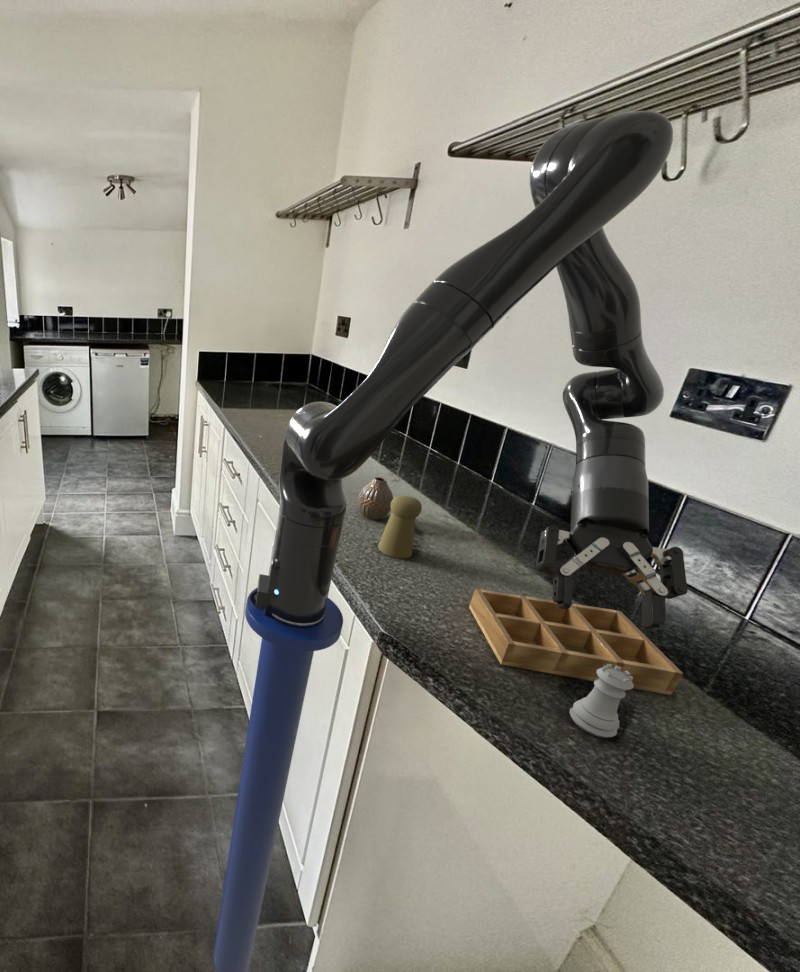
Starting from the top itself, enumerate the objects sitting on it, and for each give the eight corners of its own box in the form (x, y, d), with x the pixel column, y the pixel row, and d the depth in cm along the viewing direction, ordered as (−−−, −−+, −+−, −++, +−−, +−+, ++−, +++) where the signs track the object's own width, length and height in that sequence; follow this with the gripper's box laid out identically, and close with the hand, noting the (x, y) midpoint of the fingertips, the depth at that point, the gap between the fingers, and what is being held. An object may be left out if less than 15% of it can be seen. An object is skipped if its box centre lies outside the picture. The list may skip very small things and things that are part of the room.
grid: (500, 664, 69) (508, 643, 67) (468, 607, 81) (475, 588, 79) (671, 695, 65) (683, 673, 63) (610, 630, 77) (620, 610, 75)
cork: (409, 561, 93) (424, 508, 89) (375, 552, 96) (388, 499, 92) (413, 548, 98) (427, 496, 94) (380, 539, 101) (392, 489, 97)
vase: (388, 513, 113) (397, 476, 109) (388, 525, 107) (398, 487, 103) (356, 506, 115) (364, 471, 112) (354, 518, 109) (362, 481, 106)
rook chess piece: (562, 719, 60) (587, 667, 57) (575, 703, 63) (600, 652, 60) (608, 746, 57) (637, 692, 54) (621, 728, 59) (649, 676, 56)
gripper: (556, 476, 66) (550, 595, 61) (698, 497, 61) (704, 629, 56) (533, 498, 73) (525, 607, 67) (659, 519, 67) (661, 639, 62)
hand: (606, 617), depth 61 cm, fingers open, 8 cm apart
